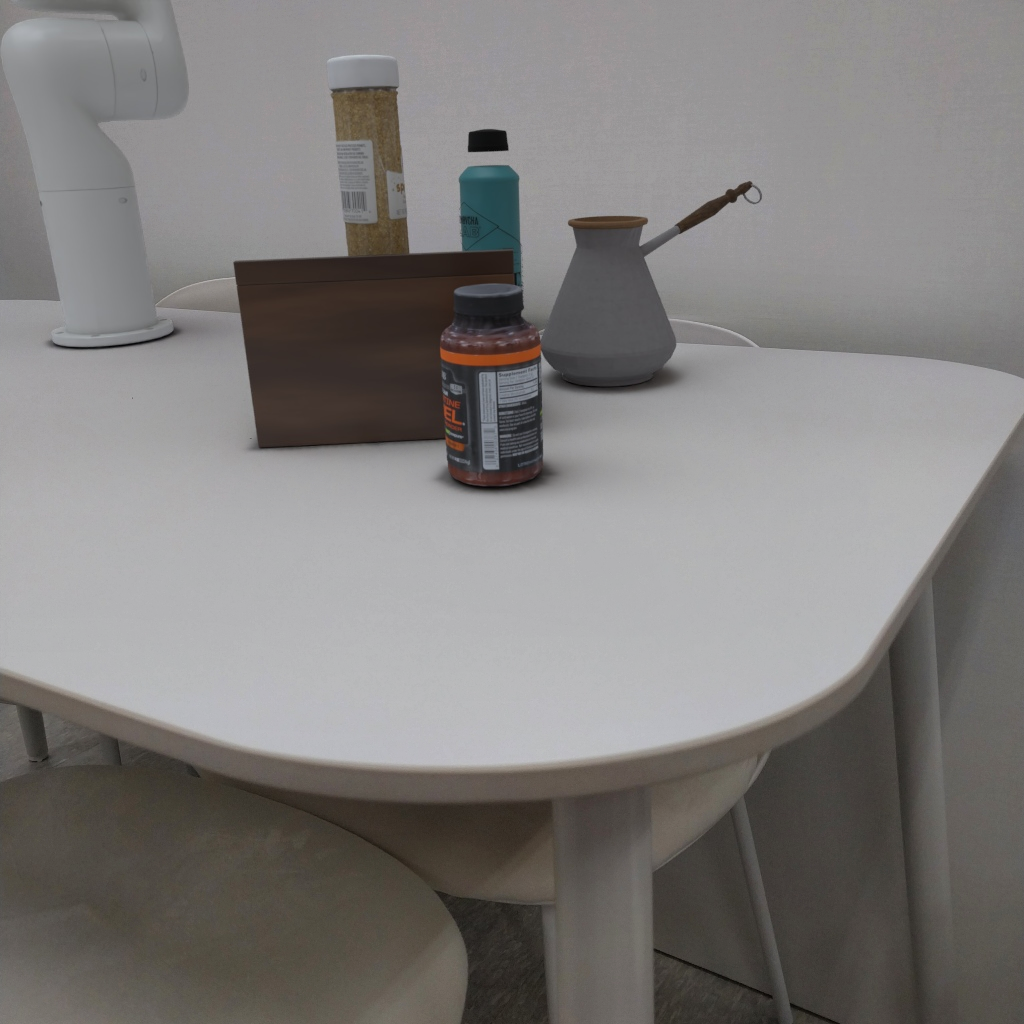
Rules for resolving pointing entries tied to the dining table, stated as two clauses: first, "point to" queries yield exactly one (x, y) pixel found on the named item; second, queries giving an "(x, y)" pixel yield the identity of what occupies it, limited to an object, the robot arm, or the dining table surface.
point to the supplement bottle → (492, 388)
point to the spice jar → (369, 153)
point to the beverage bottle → (490, 201)
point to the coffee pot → (615, 301)
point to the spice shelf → (353, 342)
